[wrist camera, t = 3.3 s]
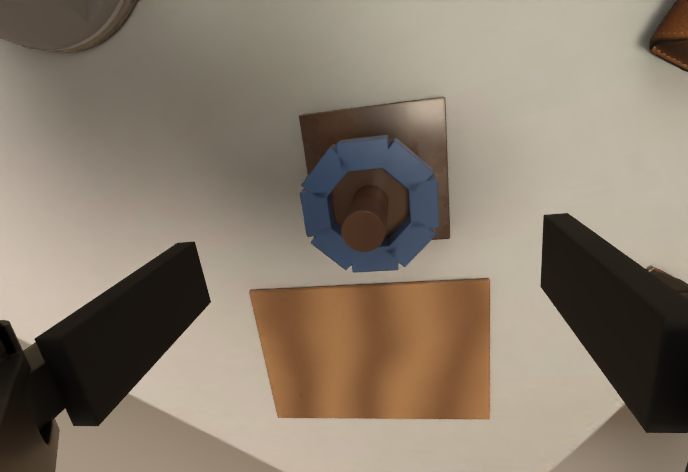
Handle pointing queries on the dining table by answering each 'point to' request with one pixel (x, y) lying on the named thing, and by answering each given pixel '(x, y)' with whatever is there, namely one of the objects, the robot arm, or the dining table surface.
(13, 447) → the robot arm
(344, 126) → the dowel stand
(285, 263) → the dining table surface
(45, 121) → the dining table surface
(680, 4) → the sunglasses case
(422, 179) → the ring
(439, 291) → the wooden board
